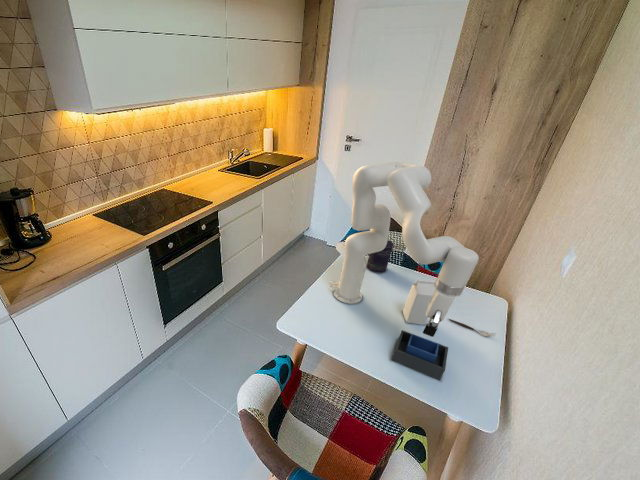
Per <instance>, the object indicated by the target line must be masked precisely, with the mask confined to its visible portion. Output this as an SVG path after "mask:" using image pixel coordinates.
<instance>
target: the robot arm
mask: <svg viewBox="0 0 640 480" xmlns="http://www.w3.org/2000/svg"><path fill="white" fill-rule="evenodd" d="M431 183H432V174H431V171H430V170H429V169H428V168H427V167H425V166H424V165H420V164H414V163H409V162H404V161H385V162H376V163H370V164H365V165H362V166H360V167H358V168H357V169H356V171H354V174H353V175H352V180H351V185H352V204H351V216H350V225H351V228H352V229H353V230H355V231H358V232H356V233H353V234H350V235H348V236H347V238H346V239H345V241H344V257H343V263H342V267H341V273H340V277H339V282H335V281H332V280H330V281H329V284H328V285H329V288H331V289H333V296H334V297H335V299H336V300H338V301H340V302H341V303H344V304H349V305H355V304H359V303H360V302H362V300H363V293H362V292H361V288H362V285H363V280H364V278H365V273H366V270H367V260H366V258H365V257H366V256H367V255H370V254H371V253H375V252H379V251H382V250H383V249H384V248H385V247H386V245H387V241H388V240H389V235H390V234H389V233H390V227H391V213H390V210H389V208H388V207H387V206H386V205H384V204H381V203H380V204H379V203H378V204H377V203H376V202H377V201H376V200H377V195H376V192H375V189H374V188H381V187H388V189H389V190H390V193H391V195H392V196H393V198H394V200H395V202H396V204H397V206H398V207H399V210H400V211H401V213H402V215H403V221H402V227H401V236H402V241H403V243H404V245H405V247H406V249H407V251H408V253H409V255H410V257H411V258H412V259H413V260H414V261H415V262H416V263H417V264H420V265H431V264H435V263H439V262H443V264H442V266H441V268H440V270H439V273H438V275H437V277H436V280H435V281H434V282H435V284H434V287H435V291H434V294H433V296H432V298H431V300H430V302H429V304H428V308H427V312H426V317H428V318H429V320H428V321H427V323H425V325H424V326H425V327H424V328H423V331H422V334H423V335H426V336H429V337H431V338H434V337H435V335H436V333H437V331H438V329H439V325H440V323H442V322H443V321H444V320H445V318H446V317H447V315H448V312H449V311H450V308H451V306H452V305H453V302H454V300H455V298H456V297H457V298H458V297H460V296H461V295H462V294H463V292H464V290H465V288H466V286H467V284H468V282H469V279H470V278H471V277H472V274H473V272H474V270H475V269H476V266H477V265H478V263H479V259H480V258H479V254H478V253H477V252H476V251H474V249H473V250H472V249H470V248H468V247H465V246H464V245H462V244H461V242H459V241H458V240H457V239H455V238H454V237H453V236H450V235H441V236H436V237H431V238H426V236H425V234H424V232H423V230H422V227H421V221H422V217H423V216H424V215H425V214H426V213H427V212H428V211H429V210H430V209H431V208H432V202H431V200H430V199H429V197H428V195H427V193H426V192H425V190H426V189H427V188H428V187H429V186H430V185H431Z"/></svg>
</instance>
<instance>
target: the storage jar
mask: <svg viewBox="0 0 640 480" xmlns="http://www.w3.org/2000/svg"><path fill="white" fill-rule="evenodd" d="M393 248H394V243H393V242H392V240H389V239H388V241H387V245H386V247H385V248H384V249H383V250H382V251H379V252H375V253H371V254H369V256H368V258H367V260H366V264H367V265H366V270H368V271H370V272H372V273H376V274H383V273H385V272H386V271H387V267H388V265H389V260H390V256H391V255H392V252H393Z"/></svg>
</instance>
